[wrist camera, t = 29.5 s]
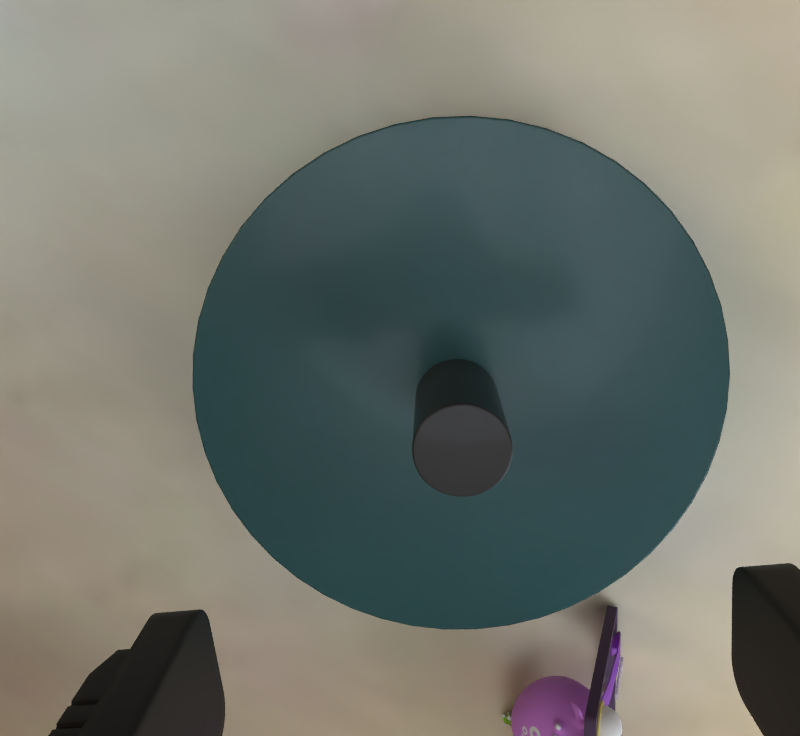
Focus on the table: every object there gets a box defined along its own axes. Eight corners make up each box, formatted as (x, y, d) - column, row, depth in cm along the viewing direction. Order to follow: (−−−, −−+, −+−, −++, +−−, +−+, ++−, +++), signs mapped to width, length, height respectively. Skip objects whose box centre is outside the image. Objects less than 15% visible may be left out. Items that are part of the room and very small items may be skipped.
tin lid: (245, 626, 27) (198, 741, 21) (159, 150, 22) (71, 143, 17) (714, 595, 26) (789, 709, 20) (720, 87, 21) (819, 59, 16)
